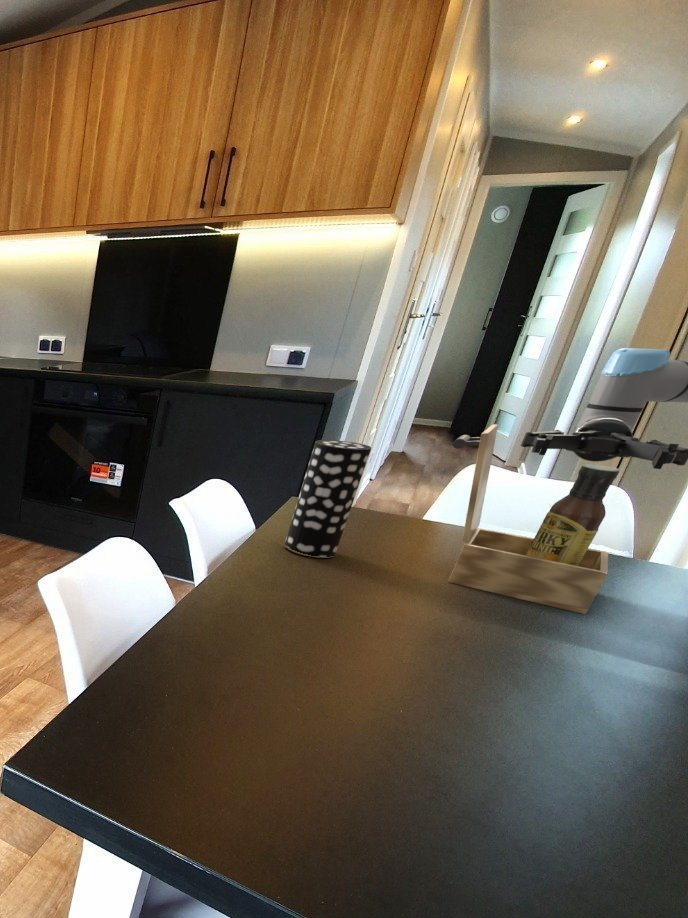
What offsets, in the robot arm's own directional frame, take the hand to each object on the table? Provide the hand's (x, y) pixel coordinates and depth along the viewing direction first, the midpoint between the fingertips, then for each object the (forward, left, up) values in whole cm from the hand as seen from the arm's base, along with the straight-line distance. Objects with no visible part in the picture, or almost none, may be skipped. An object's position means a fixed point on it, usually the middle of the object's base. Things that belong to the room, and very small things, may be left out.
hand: (600, 453), depth 105 cm
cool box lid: (+12, +15, -5) cm, 20 cm away
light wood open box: (+3, +15, -21) cm, 26 cm away
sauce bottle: (0, +15, -20) cm, 25 cm away
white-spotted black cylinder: (+32, +23, -21) cm, 45 cm away
